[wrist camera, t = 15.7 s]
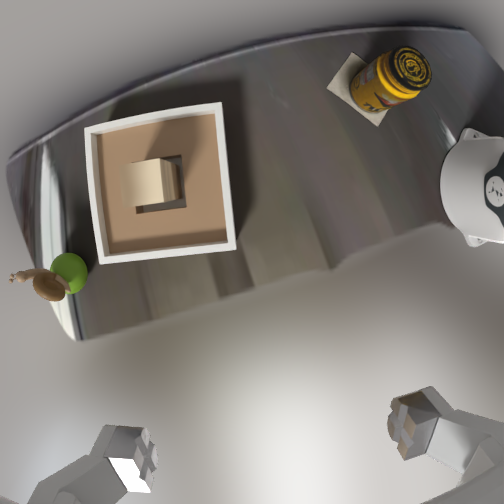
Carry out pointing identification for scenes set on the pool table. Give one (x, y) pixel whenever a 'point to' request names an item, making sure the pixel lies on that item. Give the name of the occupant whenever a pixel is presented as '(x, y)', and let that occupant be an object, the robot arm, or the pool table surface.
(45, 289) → the snail figurine
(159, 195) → the beech peg
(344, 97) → the condiment
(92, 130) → the open box
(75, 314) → the pool table surface
